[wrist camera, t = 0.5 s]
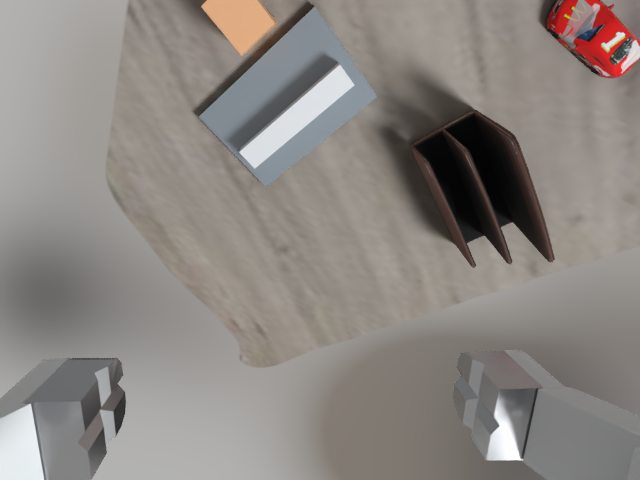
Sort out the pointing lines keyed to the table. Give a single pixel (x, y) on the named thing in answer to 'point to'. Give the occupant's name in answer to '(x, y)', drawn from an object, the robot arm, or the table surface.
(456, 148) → the letter holder
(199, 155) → the table surface
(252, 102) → the rail board
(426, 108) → the table surface
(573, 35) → the race car
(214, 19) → the block
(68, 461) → the robot arm
